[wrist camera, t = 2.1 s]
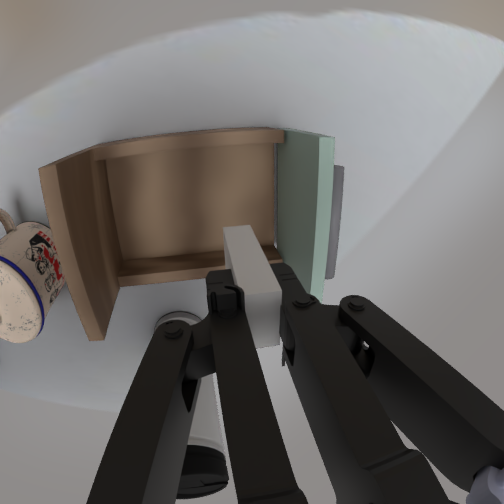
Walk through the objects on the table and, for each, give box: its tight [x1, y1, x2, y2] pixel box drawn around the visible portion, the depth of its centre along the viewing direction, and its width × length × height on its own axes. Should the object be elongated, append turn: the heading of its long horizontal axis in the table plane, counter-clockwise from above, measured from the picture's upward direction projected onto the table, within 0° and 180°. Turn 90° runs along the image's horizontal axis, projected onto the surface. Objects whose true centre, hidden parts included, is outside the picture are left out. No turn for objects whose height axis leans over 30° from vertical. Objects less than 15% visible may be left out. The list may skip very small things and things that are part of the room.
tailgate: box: [277, 128, 344, 304], centre depth 23 cm, size 2×12×9 cm, turn 1°
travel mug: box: [154, 312, 229, 499], centre depth 25 cm, size 6×7×20 cm
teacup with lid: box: [0, 209, 66, 343], centre depth 20 cm, size 12×9×12 cm
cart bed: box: [38, 127, 284, 341], centre depth 22 cm, size 16×12×12 cm
